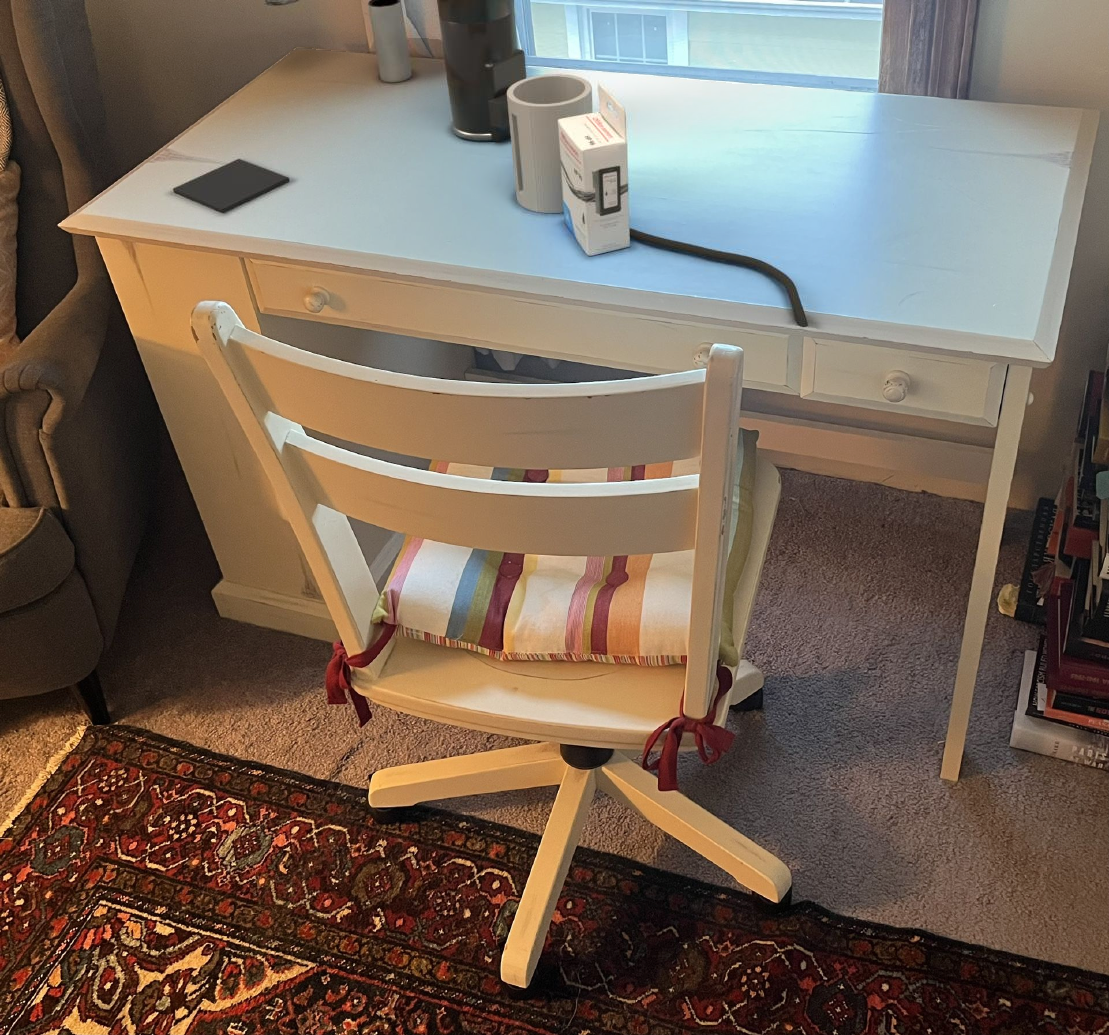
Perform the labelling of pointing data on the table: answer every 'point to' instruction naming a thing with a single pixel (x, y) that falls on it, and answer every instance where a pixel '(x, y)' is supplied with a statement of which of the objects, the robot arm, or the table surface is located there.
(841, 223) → the table surface
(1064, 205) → the table surface
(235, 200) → the mat
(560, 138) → the ink box
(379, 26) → the grey tall cylinder
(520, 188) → the cup
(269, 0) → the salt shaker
